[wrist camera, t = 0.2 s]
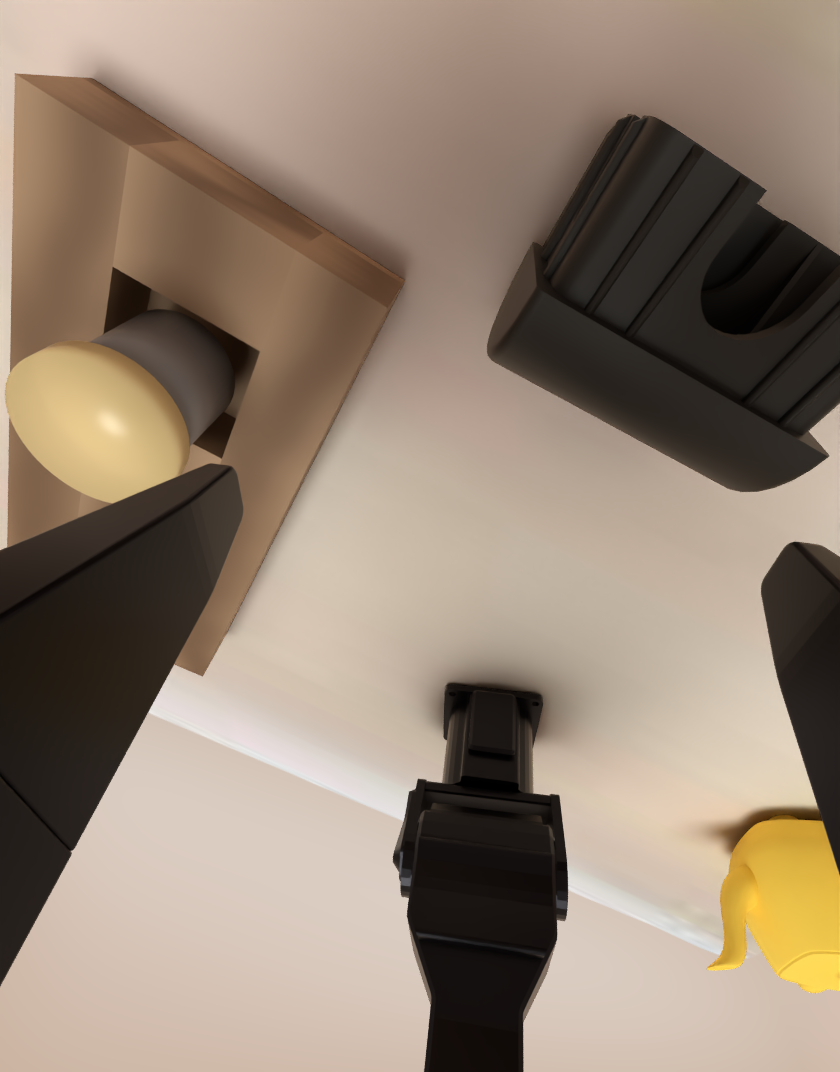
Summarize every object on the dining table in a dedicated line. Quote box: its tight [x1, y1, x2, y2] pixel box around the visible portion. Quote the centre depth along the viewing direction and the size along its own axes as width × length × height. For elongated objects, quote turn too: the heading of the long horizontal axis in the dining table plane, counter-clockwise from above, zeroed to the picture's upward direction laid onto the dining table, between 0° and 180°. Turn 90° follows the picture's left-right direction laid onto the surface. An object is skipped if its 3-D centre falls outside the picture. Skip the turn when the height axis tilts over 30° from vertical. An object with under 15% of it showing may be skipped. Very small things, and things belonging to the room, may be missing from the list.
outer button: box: [5, 309, 235, 504], centre depth 18 cm, size 5×5×6 cm
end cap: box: [487, 114, 840, 492], centre depth 17 cm, size 10×7×7 cm
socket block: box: [7, 74, 405, 676], centre depth 25 cm, size 12×26×4 cm, turn 151°
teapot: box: [707, 815, 840, 993], centre depth 38 cm, size 14×13×10 cm
